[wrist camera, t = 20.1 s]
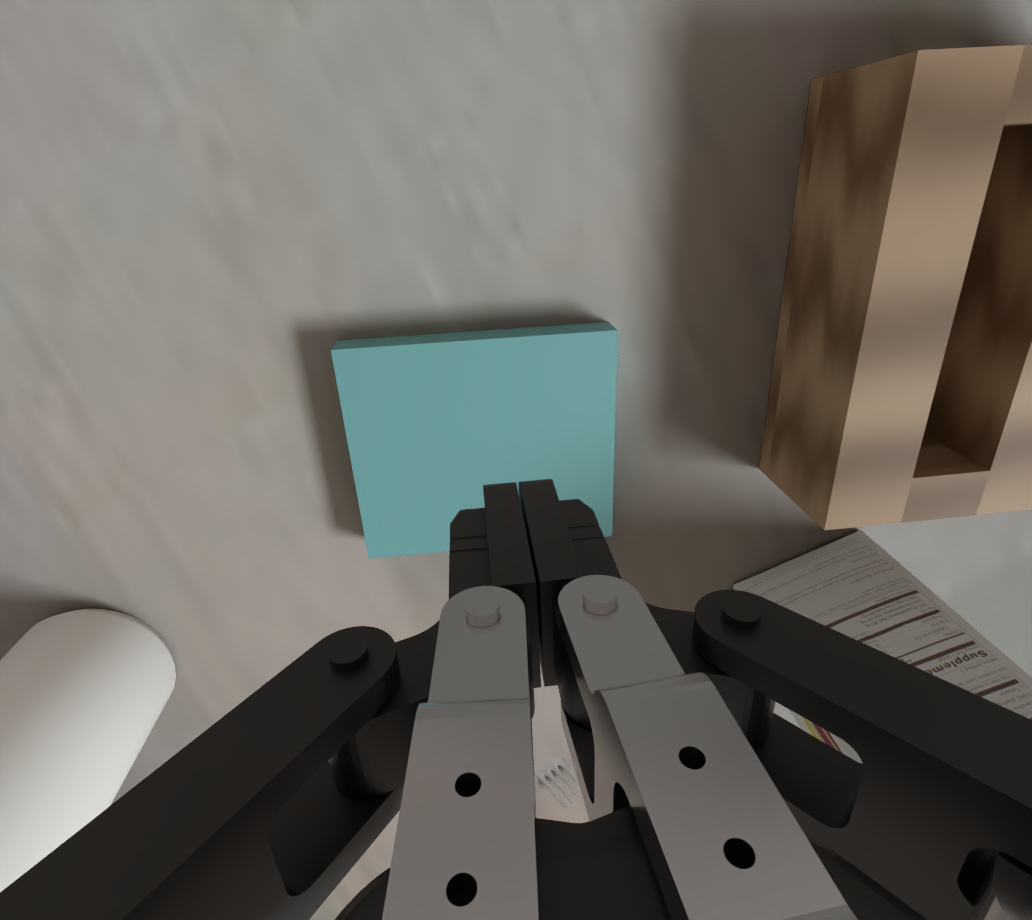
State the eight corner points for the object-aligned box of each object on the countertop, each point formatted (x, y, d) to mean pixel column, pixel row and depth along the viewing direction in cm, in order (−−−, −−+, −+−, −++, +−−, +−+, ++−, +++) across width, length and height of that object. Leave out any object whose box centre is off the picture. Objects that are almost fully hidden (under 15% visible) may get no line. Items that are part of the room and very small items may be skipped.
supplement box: (727, 582, 40) (899, 833, 24) (861, 524, 39) (1125, 748, 23) (764, 676, 44) (931, 941, 28) (886, 625, 43) (1126, 872, 28)
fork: (425, 672, 41) (424, 695, 39) (583, 768, 47) (589, 792, 45) (400, 694, 42) (398, 717, 40) (560, 786, 47) (564, 810, 45)
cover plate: (605, 319, 32) (339, 338, 31) (617, 330, 30) (330, 350, 29) (602, 514, 37) (373, 535, 36) (612, 536, 35) (368, 558, 34)
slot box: (811, 79, 27) (918, 50, 21) (1055, 66, 28) (1229, 34, 22) (759, 468, 36) (824, 530, 30) (947, 451, 37) (1050, 507, 31)
